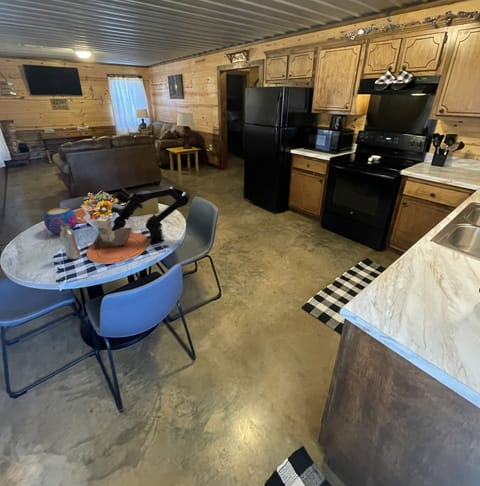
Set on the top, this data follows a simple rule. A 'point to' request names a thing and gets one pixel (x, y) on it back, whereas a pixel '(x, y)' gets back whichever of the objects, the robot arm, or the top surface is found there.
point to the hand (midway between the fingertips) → (114, 227)
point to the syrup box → (105, 229)
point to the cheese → (147, 207)
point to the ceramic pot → (59, 219)
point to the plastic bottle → (69, 242)
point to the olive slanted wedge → (118, 241)
